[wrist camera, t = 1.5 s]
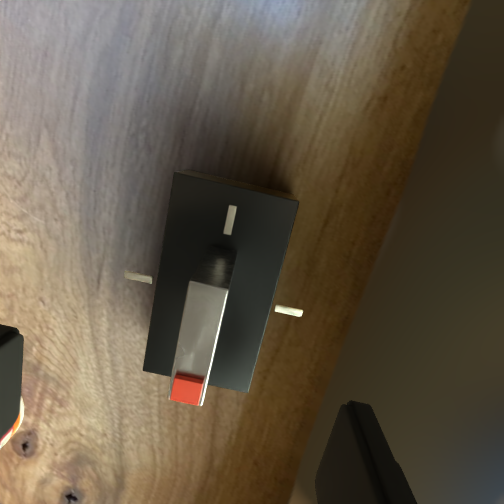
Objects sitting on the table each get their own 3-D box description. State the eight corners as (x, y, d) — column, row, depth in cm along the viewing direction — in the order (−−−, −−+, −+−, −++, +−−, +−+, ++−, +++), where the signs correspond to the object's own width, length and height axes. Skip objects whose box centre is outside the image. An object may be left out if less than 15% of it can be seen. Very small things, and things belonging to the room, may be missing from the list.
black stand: (158, 162, 18) (138, 163, 15) (321, 200, 19) (333, 209, 16) (133, 336, 21) (112, 366, 18) (274, 367, 22) (276, 401, 19)
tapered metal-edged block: (210, 244, 16) (187, 283, 11) (238, 250, 16) (227, 292, 11) (192, 333, 18) (164, 403, 13) (218, 338, 18) (201, 411, 13)
